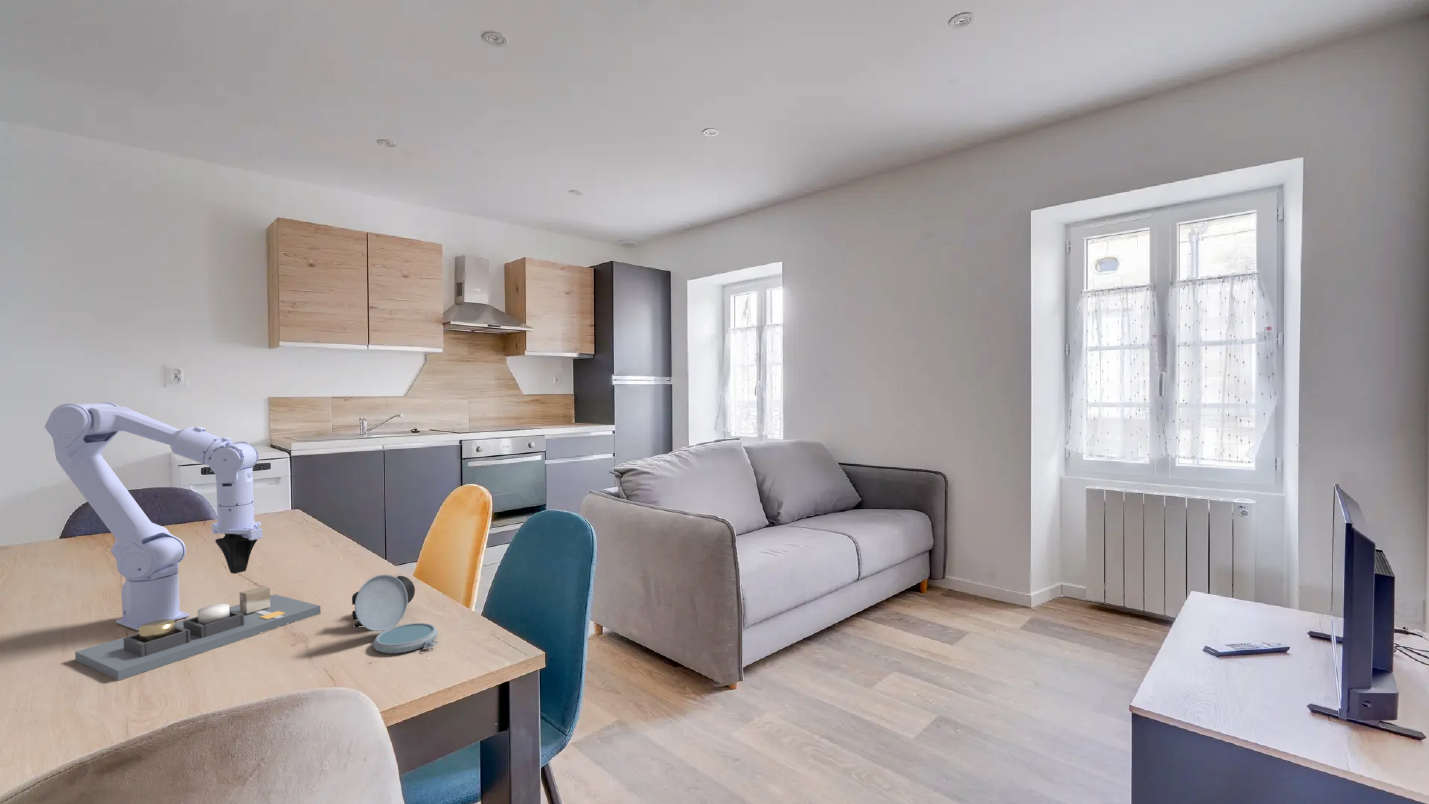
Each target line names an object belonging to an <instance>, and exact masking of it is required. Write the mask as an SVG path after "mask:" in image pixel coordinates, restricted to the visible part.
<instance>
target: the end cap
mask: <svg viewBox="0 0 1429 804" xmlns="http://www.w3.org/2000/svg"><path fill="white" fill-rule="evenodd" d="M395 577H396V576H395ZM396 578H398V579H399V580H400V581H401V582H402V583H403V584H404V586H405V588H406V591H407V595H408V603H407V605H408V604H409V603H410V602H411V601H412V600H413V599H414V596H415V593H416V589H415V584H414V583H413V581H412V580H411V579H409V578H408V577H406V576H404V575H398V576H397V577H396ZM358 592H359V590H358V591H356V592H355V593H353V594H352V596H351V605H354V606H355V600H356V597H357V594H358ZM351 614H352V620H353V621H356V622H354V623H353V626H355V627H354V628H360V627H359V626H363V625H362V624H361V623H360V622H359V620H358V619H357V616H356V613H355V610H353V611H352V613H351Z"/></svg>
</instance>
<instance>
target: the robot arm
mask: <svg viewBox="0 0 1429 804" xmlns="http://www.w3.org/2000/svg"><path fill="white" fill-rule="evenodd" d="M44 429H45V430H46V431H47V433H48V434H49V435H50V436H51V438H52V441H53V448H54V455H55V460H56V462H57V463H58V464H59V466H60V468H62V471H64V472H65V474H66V475H67V476H68V478H69V479H70V480H71V482H72V483H73V484H74V485H75V487H76V488H77V490H78V491H79V492H80V493H81V495H82V496H83V497H84V498H85V501H87V503H88V504H89V506H90V507H91V508H92V509H93V511H94V512H95V513H96V514H97V516H98V517H99V518H100V520H101V521H102V522H103V524H104V525H105V526H106V528H107V529H108V530H109V531H110V533H111V534H112V536H113V537H114V539H115V540H114V543H113V544H112V546H111V550H110V552H111V554H112V555H113V557H114V558H115V561H116V562H115V563H116V570H117V571H118V573H119V574H120V575H121V576H122V577H124V578H125V582H124V583H123V585H122V587H121V591H120V592H121V612H122V618H119V619H116V620H115V623H116V624H118V625H121V626H124V627H126V628H129V629H132V630H135V631H139V627H140V626H142V625H144V624H146V623H149V622H153V621H157V620H164V619H173V620H174V621H177V620H180V619H185V618H188V617H190V616H191V614H190V613H188V612H185V611H182V610H181V607H180V581H179V579H180V578H179V576H180V575H179V569H180V563H181V562H182V561H183V560H184V558H185V557H186V555H187V547H186V543H185V542H184V541H183V540H182V539H181V538H179V537H177V536H175V535H173V534H172V533H171V532H170V531H169V530H168V528H166V527H165V526H162V525H160V524H156V523H154V522H152V521H151V520H150V519H149V517H148V515H147V514H146V513H145V512H144V511H143V509H142V508H141V507H140V505H139V504H138V503H137V501H136V500H135V498H134V497H133V496H132V495H131V493H130V491H129V490H128V489H127V488H126V487H125V485H124V483H122V481H121V480H120V478H119V477H118V476H117V474H116V473H115V472H114V470H113V469H112V467H111V466H110V465H109V464H108V462H107V461H106V459H104V457H103V455H102V454H103V452H104V450H105V448H106V447H107V445H108V444H109V443H110V442H111V441H112V440H113V439H114V438H115V437H116V435H118V433H119V432H125V433H129V434H132V435H135V436H139V437H141V438H146V439H149V440H152V441H155V442H158V443H162V444H165V445H168V446H169V447H170V448H171V452H172V453H173V454H175V455H178V456H180V457H183V458H185V459H188V460H192V461H195V462H197V463H201V464H203V465H206V466H209V468H210V469H211V471H212V472H213V473H214V474H215V481H216V507H217V508H216V509H217V510H216V511H217V512H216V513H217V522H215V523H212V524H211V532H212V534H221V535H224V536H223V537H220V538H217V539H215V544H216V545H217V546H218V548H220V550H221V552H222V554H223V556H224V558H225V562H226V564H227V567H228V570H229V572H230V574H234V575H235V574H240V573H243V572H246V571H247V568H248V565H249V560H250V557H251V553H252V550H253V548H254V546H255V545H256V542H257V541H258V540H260V539H262V538H263V537H264V536H263V528H261V526H262V522H261V521H256V520H255V498H254V497H255V493H254V471H253V470H254V468H253V467H254V466H256V465H257V463H258V459H259V452H258V451H257V448H255V447H254V446H253V445H252V444H249V443H248V442H246V441H237V442H234V443H233V441H232V438H231V437H228V436H224V437H222V436H219V435H215V434H212V433H209V432H207V428H205V427H204V426H195V427H192V426H189V427H185V428H181V429H180V428H177V427H175V426H172V425H170V424H168V423H165V422H162V421H160V420H158V419H155V418H152V417H151V416H149V415H145V414H143V413H140V412H138V411H136V410H134V409H132V408H130V407H128V406H122V405H118V404H116V403H114V402H110V401H109V402H107V401H106V402H98V403H71V402H70V403H62V404H60V405H58V406H56V407H55V408H54V409H52V411H51V412H50V414H49V416H48V418H47V421H46V422H45V425H44Z"/></svg>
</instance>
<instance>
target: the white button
mask: <svg viewBox="0 0 1429 804" xmlns="http://www.w3.org/2000/svg"><path fill="white" fill-rule="evenodd" d="M229 607H230V604H229V603H218V604H213V605H208V606H207V605H206V606H205V607H204V606H203V607H202V608H199V609H198V610H197V617H198V623H199V624H209V623H213V622H216V621H219V620H223V619H226V618H229V617H230V610H229Z"/></svg>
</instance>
